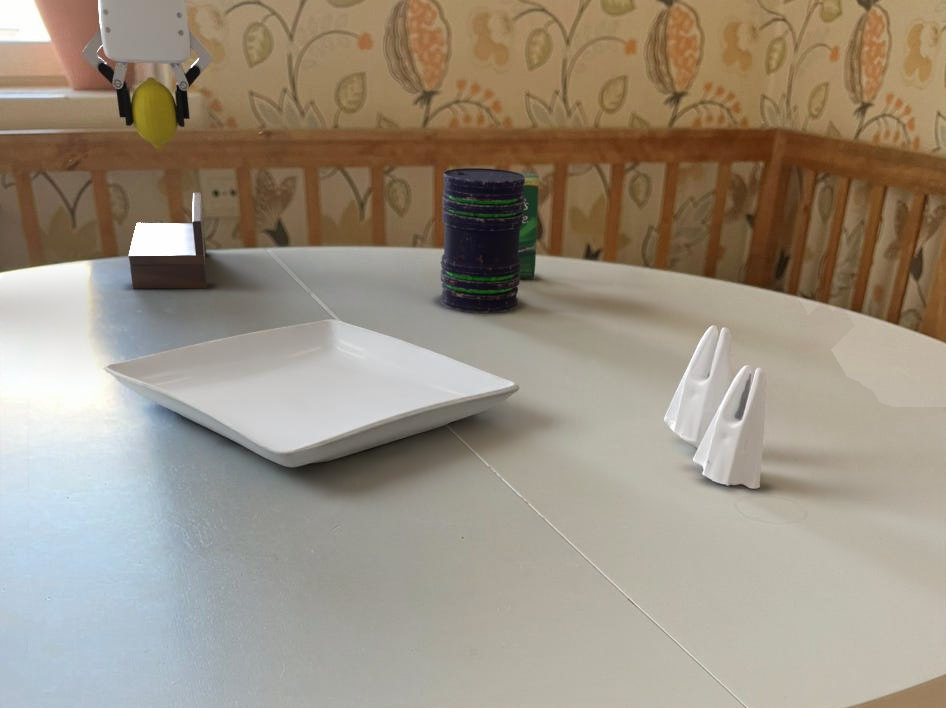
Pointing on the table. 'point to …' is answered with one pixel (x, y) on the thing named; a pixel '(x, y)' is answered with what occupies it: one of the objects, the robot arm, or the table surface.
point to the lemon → (154, 112)
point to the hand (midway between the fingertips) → (155, 123)
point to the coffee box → (529, 227)
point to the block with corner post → (170, 253)
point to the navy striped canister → (481, 239)
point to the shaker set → (721, 413)
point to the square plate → (312, 389)
